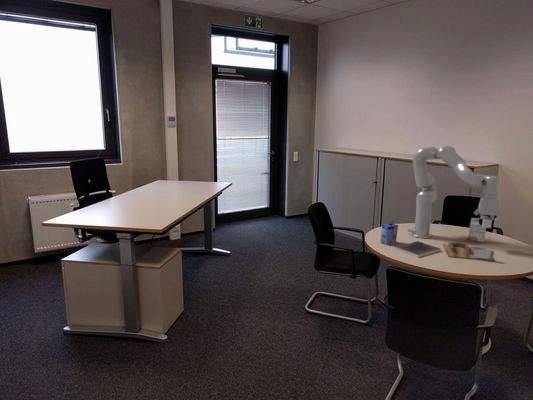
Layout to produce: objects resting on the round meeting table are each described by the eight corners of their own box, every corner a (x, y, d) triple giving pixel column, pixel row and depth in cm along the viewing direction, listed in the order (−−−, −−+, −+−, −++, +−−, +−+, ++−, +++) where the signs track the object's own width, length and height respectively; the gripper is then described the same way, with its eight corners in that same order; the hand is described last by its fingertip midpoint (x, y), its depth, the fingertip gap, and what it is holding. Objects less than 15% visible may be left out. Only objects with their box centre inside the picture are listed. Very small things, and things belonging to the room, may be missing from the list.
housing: (448, 256, 228) (448, 249, 227) (442, 245, 248) (443, 238, 247) (494, 261, 221) (495, 253, 220) (484, 249, 242) (485, 242, 241)
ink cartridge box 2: (471, 241, 257) (473, 219, 254) (468, 239, 262) (470, 217, 259) (484, 241, 256) (487, 220, 253) (481, 239, 261) (484, 218, 258)
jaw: (482, 227, 238) (483, 218, 237) (479, 224, 244) (480, 215, 243) (490, 228, 237) (492, 218, 236) (487, 225, 243) (488, 216, 242)
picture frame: (417, 244, 252) (394, 250, 240) (417, 241, 251) (395, 246, 240) (440, 252, 238) (417, 258, 227) (440, 248, 237) (418, 254, 226)
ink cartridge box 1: (386, 245, 248) (388, 223, 245) (379, 242, 252) (381, 221, 249) (396, 242, 253) (398, 221, 250) (390, 240, 257) (391, 219, 254)
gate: (474, 258, 223) (475, 250, 222) (473, 257, 225) (474, 249, 224) (492, 260, 221) (493, 251, 220) (491, 259, 223) (493, 250, 222)
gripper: (475, 196, 235) (471, 225, 239) (507, 198, 231) (502, 228, 235) (472, 194, 242) (468, 222, 246) (502, 196, 238) (498, 224, 242)
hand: (485, 225), depth 240 cm, fingers closed on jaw, 4 cm apart
